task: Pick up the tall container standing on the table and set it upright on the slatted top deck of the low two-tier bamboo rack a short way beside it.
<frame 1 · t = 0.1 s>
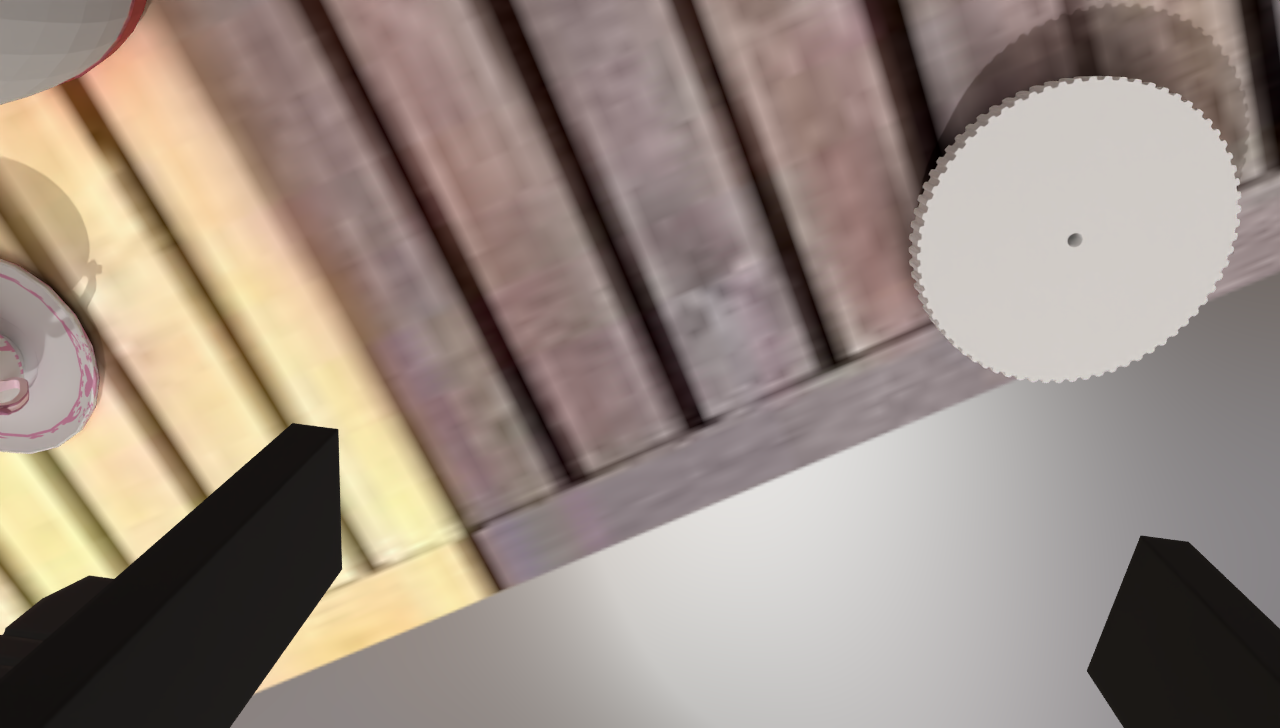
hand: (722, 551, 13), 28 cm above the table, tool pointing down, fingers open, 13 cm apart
teacup: (1, 352, 44), on the table
plastic lid: (1049, 228, 38), on the table
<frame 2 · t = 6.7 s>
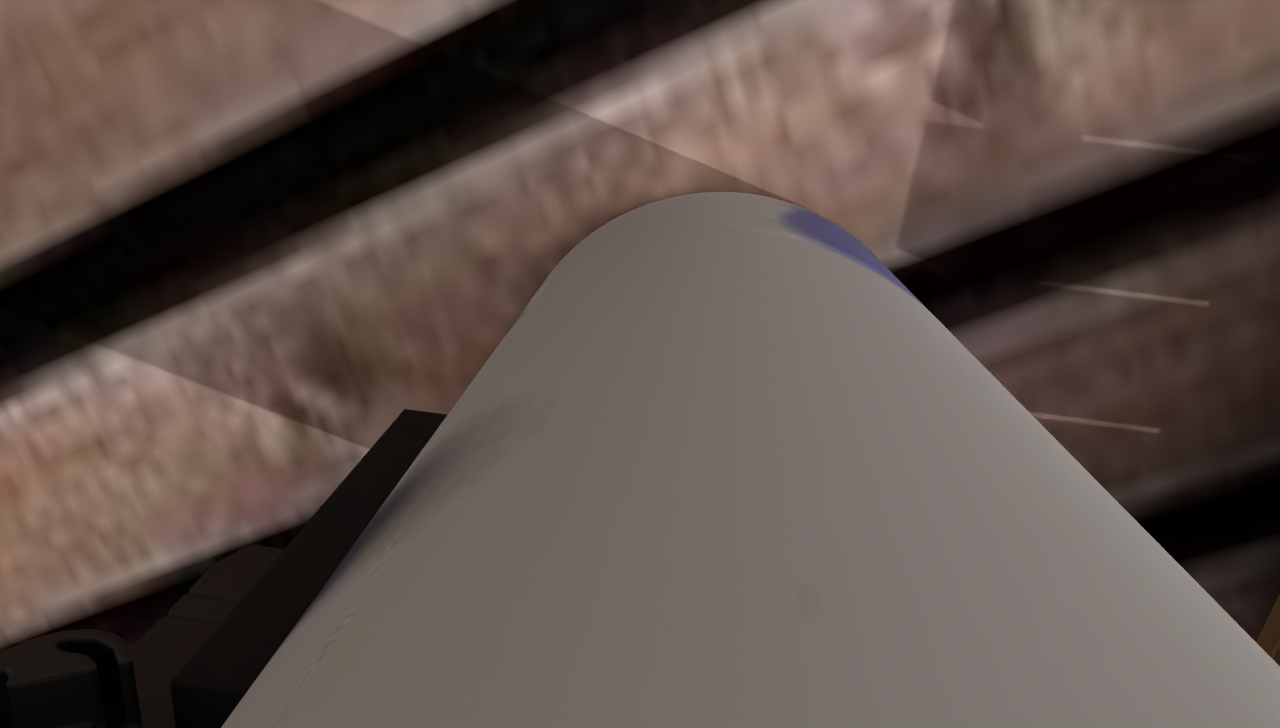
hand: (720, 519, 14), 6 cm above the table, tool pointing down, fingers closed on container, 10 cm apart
container: (714, 393, 19), on the table, touching gripper
when the fingers open (13 cm above the table, at t = 20.0 s): container stays where it is, resting on rack.
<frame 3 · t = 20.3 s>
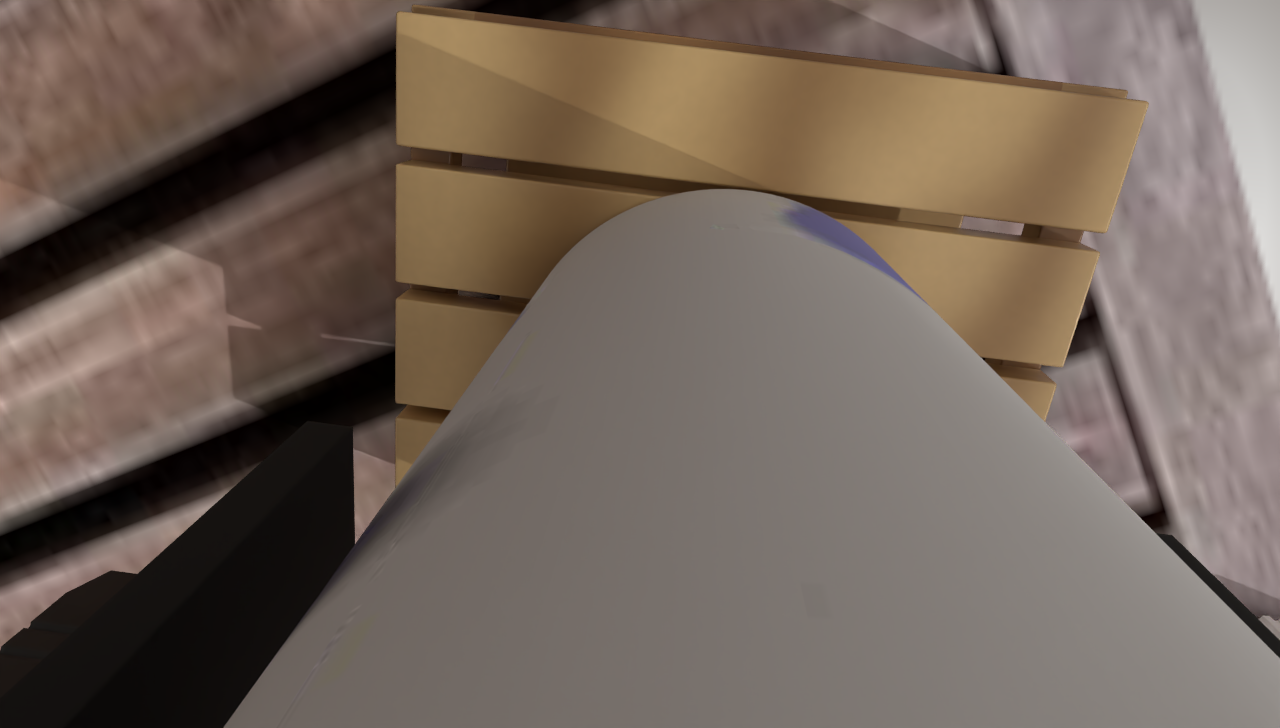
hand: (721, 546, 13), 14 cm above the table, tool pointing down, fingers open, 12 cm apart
rack: (710, 312, 26), on the table
container: (716, 390, 19), point 7 cm above the table, touching rack
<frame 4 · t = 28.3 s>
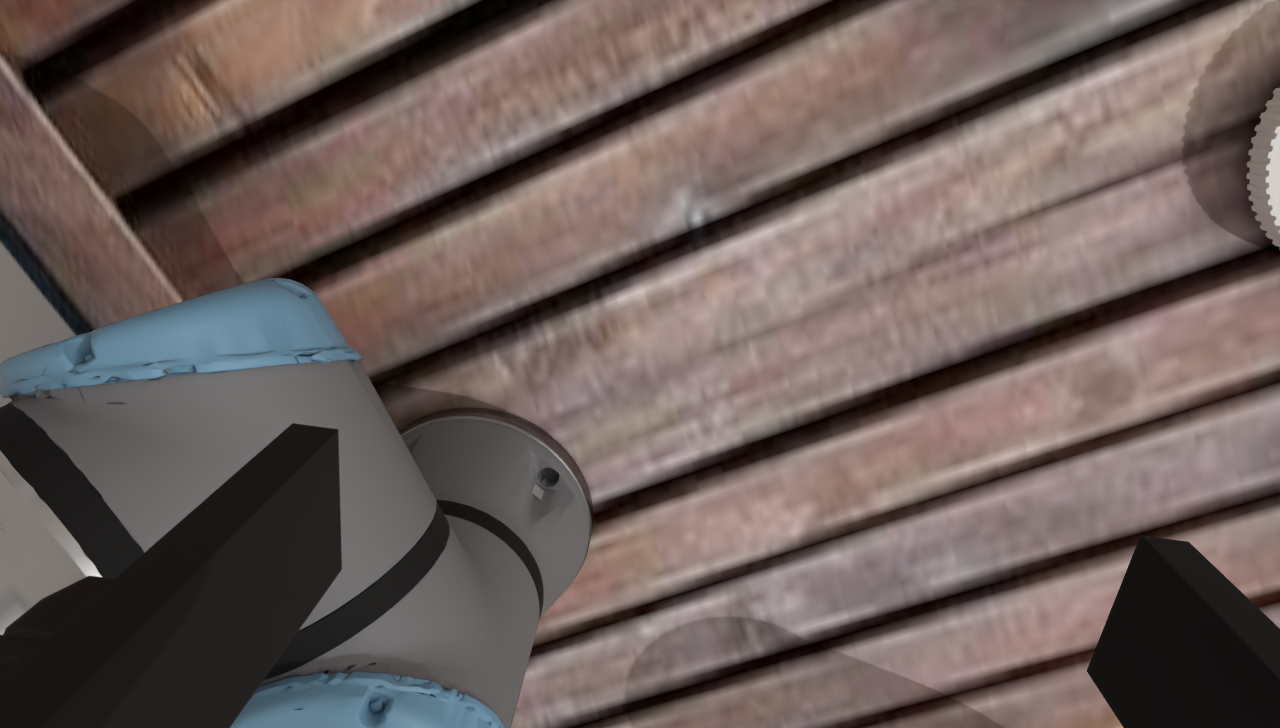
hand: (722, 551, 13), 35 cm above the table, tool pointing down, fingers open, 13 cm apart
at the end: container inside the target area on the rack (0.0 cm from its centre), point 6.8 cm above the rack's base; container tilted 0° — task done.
